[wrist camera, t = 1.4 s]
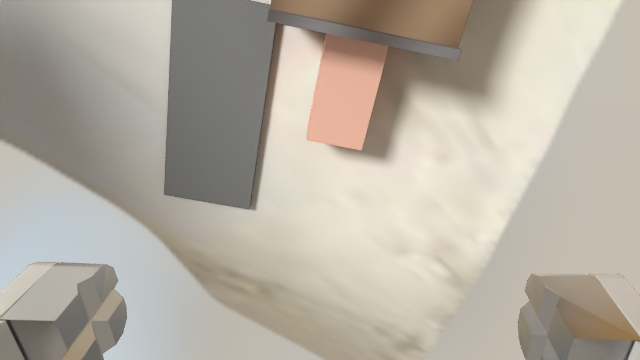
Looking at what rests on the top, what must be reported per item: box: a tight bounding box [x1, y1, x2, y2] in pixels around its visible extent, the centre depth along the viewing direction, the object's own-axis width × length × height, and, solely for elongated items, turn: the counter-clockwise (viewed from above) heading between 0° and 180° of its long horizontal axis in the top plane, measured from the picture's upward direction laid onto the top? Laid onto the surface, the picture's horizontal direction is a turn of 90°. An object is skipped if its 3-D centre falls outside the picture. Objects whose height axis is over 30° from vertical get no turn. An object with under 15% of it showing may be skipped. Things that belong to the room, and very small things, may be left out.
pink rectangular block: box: [307, 34, 389, 150], centre depth 29 cm, size 4×14×4 cm, turn 169°
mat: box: [164, 0, 276, 209], centre depth 33 cm, size 7×16×1 cm, turn 169°
